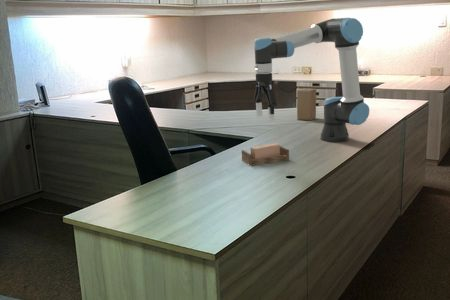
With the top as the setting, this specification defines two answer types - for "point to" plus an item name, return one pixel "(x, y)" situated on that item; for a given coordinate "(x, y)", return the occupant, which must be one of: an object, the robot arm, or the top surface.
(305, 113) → the wooden block
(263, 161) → the rack
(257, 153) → the pink rectangular block
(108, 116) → the top surface
